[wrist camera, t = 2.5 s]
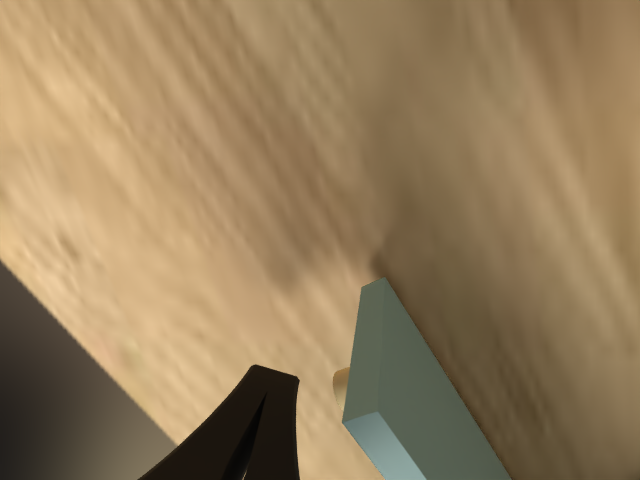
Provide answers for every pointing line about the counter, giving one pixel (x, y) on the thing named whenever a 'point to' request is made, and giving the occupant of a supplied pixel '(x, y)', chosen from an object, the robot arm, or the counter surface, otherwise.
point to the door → (407, 400)
